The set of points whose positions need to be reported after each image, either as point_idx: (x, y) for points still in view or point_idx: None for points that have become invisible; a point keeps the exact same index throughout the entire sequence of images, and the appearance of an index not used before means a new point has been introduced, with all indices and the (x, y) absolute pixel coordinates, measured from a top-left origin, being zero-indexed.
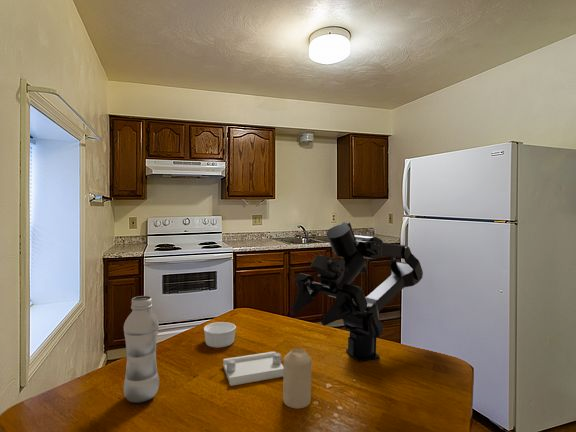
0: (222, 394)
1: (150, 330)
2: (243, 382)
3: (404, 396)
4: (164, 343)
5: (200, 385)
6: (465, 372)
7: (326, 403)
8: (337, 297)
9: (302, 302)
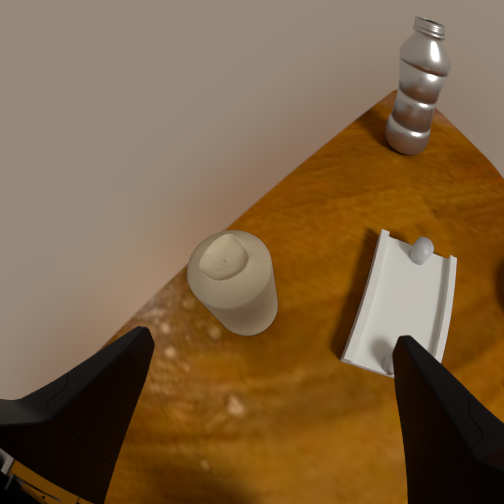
0: (359, 216)
1: (403, 56)
2: (372, 260)
3: None
4: None
5: (403, 204)
6: None
7: (196, 344)
8: (15, 419)
9: (423, 438)
